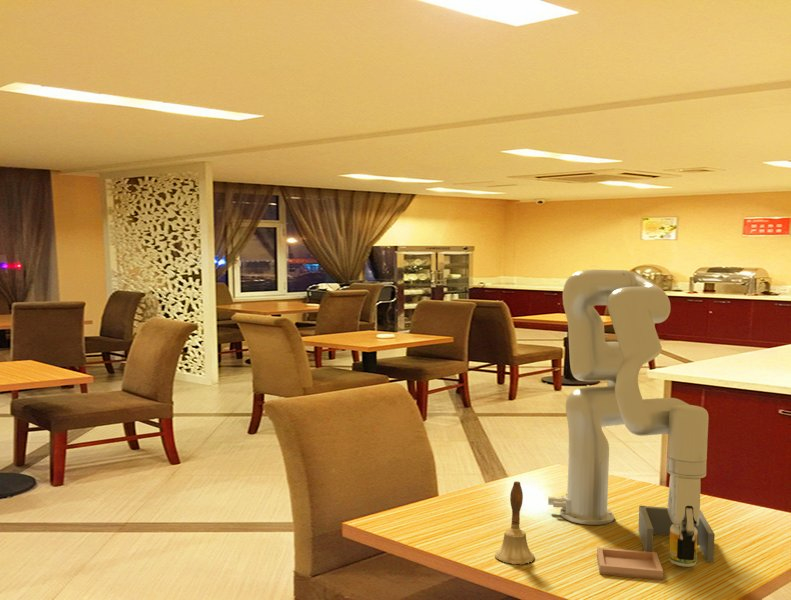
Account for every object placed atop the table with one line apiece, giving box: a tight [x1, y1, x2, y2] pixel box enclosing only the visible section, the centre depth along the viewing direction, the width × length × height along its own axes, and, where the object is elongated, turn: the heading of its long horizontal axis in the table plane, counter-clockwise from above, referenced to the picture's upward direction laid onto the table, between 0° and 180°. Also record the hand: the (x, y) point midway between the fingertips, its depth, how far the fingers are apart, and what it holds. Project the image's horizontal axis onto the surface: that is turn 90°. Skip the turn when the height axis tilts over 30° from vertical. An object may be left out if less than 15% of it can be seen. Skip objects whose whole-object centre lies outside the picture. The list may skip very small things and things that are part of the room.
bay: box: [637, 505, 716, 563], centre depth 173 cm, size 13×16×6 cm
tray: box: [596, 546, 664, 581], centre depth 160 cm, size 12×10×2 cm
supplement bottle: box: [668, 521, 698, 568], centre depth 161 cm, size 5×5×10 cm
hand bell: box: [494, 481, 536, 565], centre depth 164 cm, size 8×8×16 cm
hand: (682, 552), depth 161 cm, fingers closed on supplement bottle, 5 cm apart
